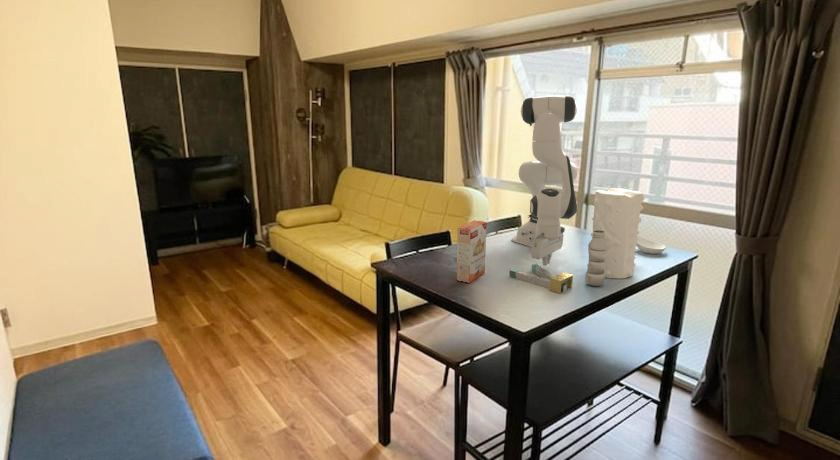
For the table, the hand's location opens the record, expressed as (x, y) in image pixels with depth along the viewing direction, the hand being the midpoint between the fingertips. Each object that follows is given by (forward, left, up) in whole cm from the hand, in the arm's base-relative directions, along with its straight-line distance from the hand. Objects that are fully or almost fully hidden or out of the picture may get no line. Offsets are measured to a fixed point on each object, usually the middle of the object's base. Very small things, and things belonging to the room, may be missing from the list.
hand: (546, 264), depth 183 cm
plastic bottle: (+22, -3, -2) cm, 22 cm away
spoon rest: (+15, +51, -2) cm, 53 cm away
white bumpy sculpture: (+20, +14, -2) cm, 24 cm away
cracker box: (-15, -28, -2) cm, 32 cm away
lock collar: (+15, -15, -2) cm, 22 cm away
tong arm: (+5, -9, -2) cm, 11 cm away
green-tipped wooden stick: (+6, -16, -2) cm, 17 cm away
